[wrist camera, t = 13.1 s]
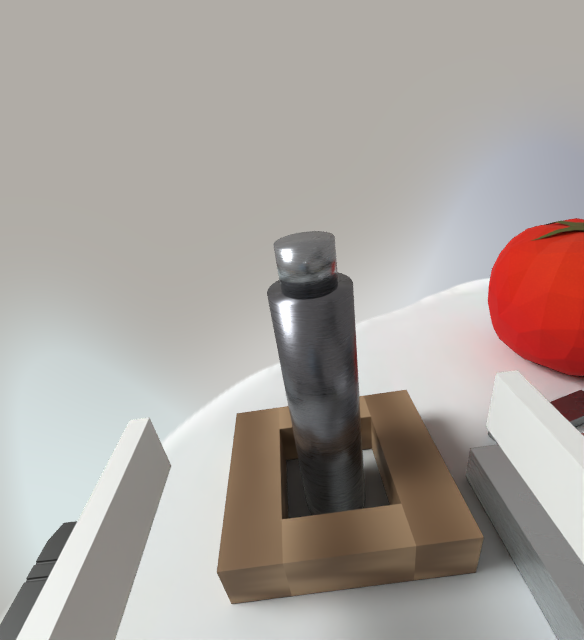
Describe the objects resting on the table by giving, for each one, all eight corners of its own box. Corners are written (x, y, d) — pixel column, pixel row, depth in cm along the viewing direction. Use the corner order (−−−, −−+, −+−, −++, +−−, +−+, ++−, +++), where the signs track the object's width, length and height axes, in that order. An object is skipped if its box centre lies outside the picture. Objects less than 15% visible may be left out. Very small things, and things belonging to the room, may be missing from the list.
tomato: (617, 320, 33) (663, 193, 27) (705, 423, 22) (810, 248, 16) (473, 314, 37) (487, 204, 32) (487, 397, 26) (513, 253, 21)
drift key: (578, 398, 25) (580, 389, 25) (604, 414, 24) (608, 405, 23) (487, 434, 23) (489, 425, 23) (510, 454, 22) (512, 445, 22)
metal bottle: (357, 466, 23) (341, 223, 15) (371, 520, 20) (359, 246, 12) (303, 473, 23) (259, 235, 15) (308, 528, 20) (256, 261, 12)
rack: (405, 421, 25) (406, 389, 24) (475, 572, 17) (483, 537, 15) (245, 443, 26) (236, 413, 24) (231, 603, 17) (216, 571, 15)
